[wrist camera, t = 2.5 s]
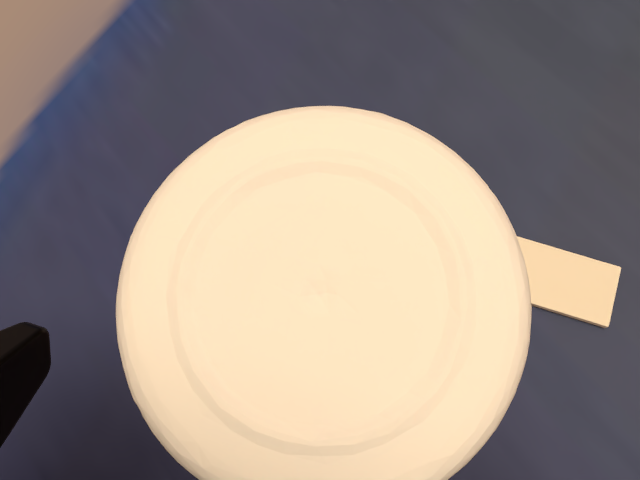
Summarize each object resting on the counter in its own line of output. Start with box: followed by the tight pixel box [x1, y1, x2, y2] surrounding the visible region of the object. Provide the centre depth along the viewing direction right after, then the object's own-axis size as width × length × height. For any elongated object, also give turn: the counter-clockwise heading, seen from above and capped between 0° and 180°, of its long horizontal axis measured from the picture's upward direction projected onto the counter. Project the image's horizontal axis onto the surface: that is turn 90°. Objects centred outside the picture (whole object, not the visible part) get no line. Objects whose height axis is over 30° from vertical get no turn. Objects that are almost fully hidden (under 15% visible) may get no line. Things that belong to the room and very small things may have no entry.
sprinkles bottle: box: [116, 106, 532, 480], centre depth 13 cm, size 5×5×13 cm
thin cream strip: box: [516, 236, 621, 328], centre depth 20 cm, size 2×14×1 cm, turn 72°
